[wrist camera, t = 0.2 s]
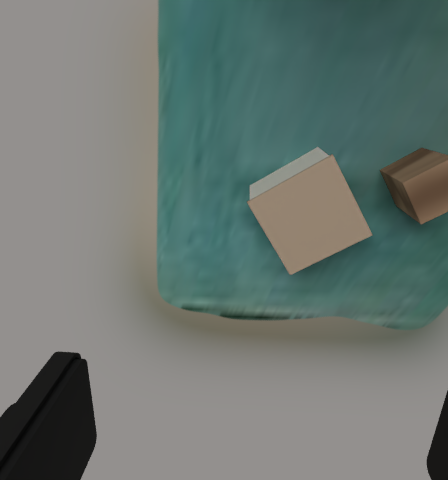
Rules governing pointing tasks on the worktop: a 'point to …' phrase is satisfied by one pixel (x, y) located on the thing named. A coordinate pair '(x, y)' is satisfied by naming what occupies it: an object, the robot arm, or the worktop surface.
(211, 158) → the worktop surface
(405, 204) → the walnut block
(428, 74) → the worktop surface
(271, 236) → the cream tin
